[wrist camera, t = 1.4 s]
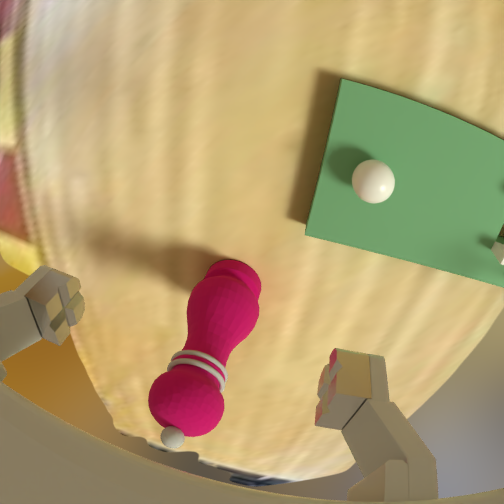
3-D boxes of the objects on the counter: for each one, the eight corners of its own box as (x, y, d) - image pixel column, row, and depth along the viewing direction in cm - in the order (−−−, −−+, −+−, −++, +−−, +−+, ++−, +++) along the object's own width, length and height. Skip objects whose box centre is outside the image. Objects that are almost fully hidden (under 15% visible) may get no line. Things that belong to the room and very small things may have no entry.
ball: (356, 149, 24) (360, 161, 21) (395, 161, 24) (404, 174, 21) (345, 187, 26) (348, 204, 23) (383, 198, 25) (390, 215, 23)
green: (340, 78, 23) (361, 87, 11) (571, 181, 20) (647, 250, 9) (302, 238, 31) (285, 348, 20) (515, 294, 29) (558, 383, 18)
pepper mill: (218, 243, 34) (131, 410, 17) (278, 277, 35) (234, 456, 18) (193, 286, 38) (117, 435, 21) (247, 315, 39) (197, 471, 22)
